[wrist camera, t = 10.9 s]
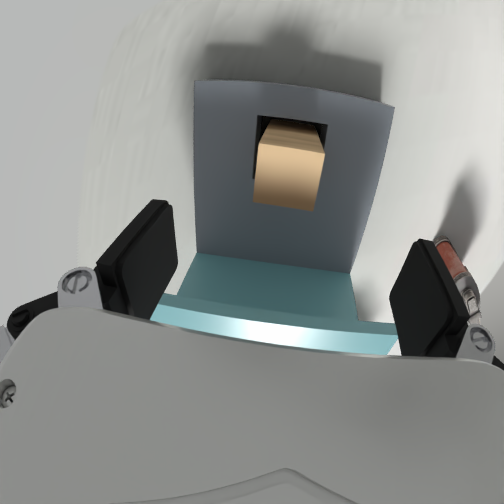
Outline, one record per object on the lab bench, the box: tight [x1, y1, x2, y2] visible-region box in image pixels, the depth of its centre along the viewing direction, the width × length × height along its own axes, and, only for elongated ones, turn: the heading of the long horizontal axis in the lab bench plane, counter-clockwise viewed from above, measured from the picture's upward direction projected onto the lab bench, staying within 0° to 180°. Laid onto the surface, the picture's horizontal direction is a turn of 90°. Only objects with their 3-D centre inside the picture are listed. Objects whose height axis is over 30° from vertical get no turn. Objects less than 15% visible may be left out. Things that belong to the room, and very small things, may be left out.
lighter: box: [433, 236, 481, 325], centre depth 26 cm, size 8×3×10 cm, turn 41°
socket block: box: [150, 79, 398, 355], centre depth 21 cm, size 18×17×16 cm
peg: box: [253, 119, 325, 211], centre depth 21 cm, size 4×4×10 cm
